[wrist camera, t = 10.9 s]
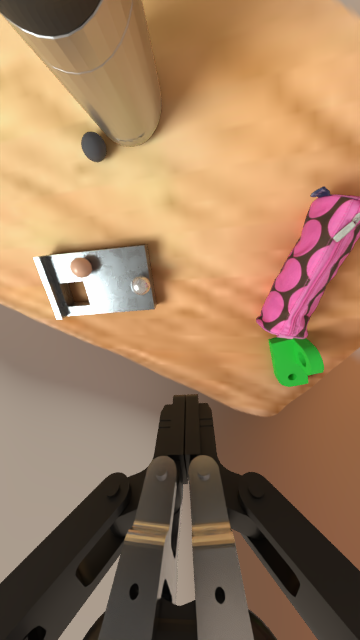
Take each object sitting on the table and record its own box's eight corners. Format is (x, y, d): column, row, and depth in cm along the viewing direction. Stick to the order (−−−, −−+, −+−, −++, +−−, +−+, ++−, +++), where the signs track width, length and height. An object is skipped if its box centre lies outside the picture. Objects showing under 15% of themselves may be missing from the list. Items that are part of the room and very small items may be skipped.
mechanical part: (268, 338, 41) (285, 362, 33) (298, 331, 40) (323, 353, 32) (275, 382, 45) (292, 411, 38) (303, 376, 44) (325, 405, 37)
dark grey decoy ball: (74, 145, 27) (93, 169, 30) (78, 138, 25) (99, 164, 27) (89, 130, 28) (107, 154, 30) (95, 121, 26) (114, 148, 28)
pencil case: (296, 193, 30) (342, 176, 21) (354, 209, 31) (424, 200, 22) (244, 317, 39) (261, 343, 30) (290, 328, 39) (321, 357, 30)
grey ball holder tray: (49, 254, 36) (33, 257, 32) (147, 244, 34) (142, 245, 30) (69, 311, 40) (57, 319, 36) (156, 304, 38) (153, 312, 35)
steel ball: (127, 273, 32) (141, 277, 30) (142, 274, 34) (155, 278, 33) (125, 292, 33) (138, 297, 31) (140, 292, 35) (153, 296, 34)
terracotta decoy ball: (74, 257, 33) (62, 259, 30) (92, 255, 33) (82, 257, 30) (79, 276, 34) (69, 280, 31) (97, 274, 34) (88, 278, 31)
